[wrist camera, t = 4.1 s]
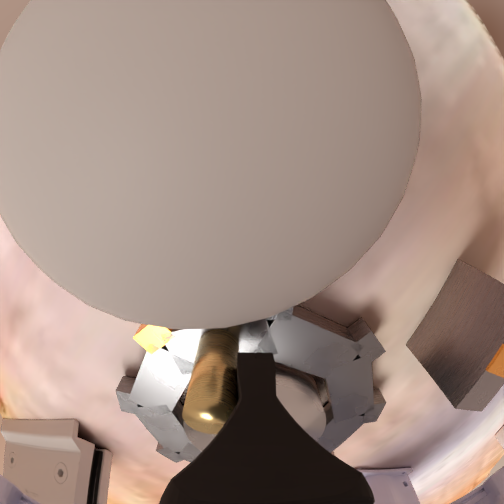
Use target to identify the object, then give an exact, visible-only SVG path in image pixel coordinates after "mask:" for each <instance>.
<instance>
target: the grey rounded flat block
mask: <svg viewBox="0 0 504 504" xmlns="http://www.w3.org/2000/svg"><path fill="white" fill-rule="evenodd" d="M78 427H79V422H78V421H77V420H76V419H64V420H20V419H3V420H2V425H1V433H2V435H3V437H4V438H5V440H6V445H5V455H4V472H3V477H5V478H6V479H8V480H9V481H10V482H12V483H13V484H14V485H15V486H16V487H18V488H19V489H20V490H21V491H22V493H24V494H25V495H27V496H29V497H30V498H32V499H34V500H36V501H38V502H39V503H41V504H107V496H108V486H109V478H110V470H111V463H112V456H113V454H112V453H111V452H110V451H108V450H106V449H96V448H94V447H95V444H93V443H90V442H88V441H86V440H83V439H81V438H79V437H77V435H78Z"/></svg>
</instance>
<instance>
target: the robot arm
mask: <svg viewBox="0 0 504 504" xmlns="http://www.w3.org/2000/svg"><path fill="white" fill-rule="evenodd" d="M237 393H238V403H237V405H236V406H235V408H234V410H233V412H232V413H231V415H230V416H229V418H228V420H227V421H226V423H225V424H224V425H223V427H222V428H221V430H220V431H219V432H218V434H217V435H216V436H215V437H214V439H213V440H212V441H211V442H210V443H209V445H208V446H207V447H206V448H205V449H204V450H203V451H202V452H201V453H200V454H199V455H198V456H197V457H196V458H195V459H194V460H193V461H192V462H191V463H190V464H189V465H188V466H186V467H185V468H184V469H183V470H182V471H181V472H179V473H178V474H177V475H176V476H174V477H173V478H172V479H171V481H170V482H169V484H168V486H167V487H166V489H165V491H164V493H163V495H162V497H161V500H160V503H159V504H420V502H419V499H418V497H417V495H416V492H415V490H414V488H413V485H412V483H411V481H410V479H409V476H408V474H410V473H411V472H412V471H413V469H412V468H401V469H382V470H356V469H354V468H353V467H351V466H349V465H348V464H346V463H345V462H343V461H341V460H340V459H338V458H337V457H336V456H334V455H333V454H332V453H330V452H329V451H327V450H326V449H325V448H324V447H323V446H321V445H320V444H319V443H318V442H317V441H316V440H314V439H313V438H312V437H311V436H310V435H309V434H308V433H307V432H306V431H305V430H304V429H303V428H302V427H301V426H300V425H299V424H298V423H297V422H296V421H295V420H294V418H293V417H292V416H291V415H290V414H289V413H288V411H287V410H286V409H285V407H284V406H283V405H282V403H281V402H280V400H279V399H278V398H277V396H276V368H275V360H274V356H273V353H244V352H238V354H237ZM0 504H41V503H39V502H38V501H36V500H34V499H32V498H30V497H29V496H27V495H25V494H24V493H22V491H21V490H20V489H19V488H18V487H16V486H15V485H14V484H13V483H12V482H10V481H9V480H8V479H6V478H5V477H3V476H2V475H0ZM451 504H504V466H503V467H502V468H501V469H499V470H498V471H496V472H495V473H494V474H493V475H492V476H490V477H489V478H488V479H487V480H486V481H485V482H484V483H483V485H481V486H480V487H478V488H476V489H475V490H473V491H472V492H470V493H468V494H467V495H465V496H463V497H461V498H460V499H458V500H456V501H454V502H452V503H451Z"/></svg>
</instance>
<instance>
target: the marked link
mask: <svg viewBox="0 0 504 504" xmlns="http://www.w3.org/2000/svg"><path fill="white" fill-rule="evenodd" d="M406 346H407V347H408V348H409V350H410V351H411V352H412V353H413V354H414V356H415V357H416V358H417V359H418V361H419V362H420V363H421V364H422V366H423V367H424V368H425V370H426V371H427V372H428V373H429V375H430V376H431V377H432V378H433V380H434V381H435V382H436V384H437V385H438V386H439V388H440V389H441V390H442V392H443V393H444V394H445V396H446V397H447V398H448V400H449V401H450V402H451V404H452V405H453V406H454V408H456V409H464V410H473V411H482V410H483V409H484V408H485V407H486V406H487V404H488V403H489V402H490V401H491V399H492V398H493V397H494V396H495V394H496V393H497V392H498V391H499V389H500V388H501V387H502V385H503V384H504V284H503V283H501V282H499V281H498V280H496V279H494V278H492V277H491V276H489V275H487V274H485V273H483V272H482V271H480V270H478V269H476V268H474V267H472V266H470V265H468V264H467V263H465V262H463V261H461V260H459V259H457V261H456V263H455V265H454V267H453V269H452V271H451V273H450V275H449V276H448V278H447V280H446V282H445V284H444V286H443V287H442V289H441V291H440V293H439V294H438V296H437V298H436V299H435V301H434V303H433V304H432V306H431V308H430V309H429V311H428V312H427V314H426V315H425V317H424V319H423V320H422V322H421V323H420V325H419V326H418V328H417V329H416V331H415V332H414V334H413V335H412V336H411V338H410V339H409V341H408V342H407V344H406Z"/></svg>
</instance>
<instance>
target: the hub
mask: <svg viewBox="0 0 504 504" xmlns="http://www.w3.org/2000/svg"><path fill="white" fill-rule="evenodd" d="M275 368H276V396H277V398H278V399H279V400H280V402H281V403H282V405H283V406H284V407H285V409H286V410H287V411H288V413H289V414H290V415H291V416H292V417H293V418H294V420H295V421H296V422H297V423H298V424H299V425H300V426H301V427H302V428H303V429H304V430H305V431H306V432H307V433H308V434H309V435H310V436H311V437H312V438H313V439H314V440H316V441H318V440H319V438H320V437H321V436H322V434H323V432H324V430H325V426H326V415H325V412H324V408H323V405H322V402H321V399H320V395H319V392H318V389H317V386H316V383H315V380H314V378H313V376H312V375H311V374H309V373H306V372H303V371H301V370H298V369H295V368H292V367H289V366H286V365H284V364H281V363H278V362H276V361H275ZM184 430H185V434H186V436H187V438H188V439H189V440H190V442H191V443H192V444H193V445H194V446H195V447H196V448H197V449H199V450H200V451H201V452H202V451H203V450H204V449H205V448H206V447H207V446H208V445H209V443H210V442H211V441H212V440H213V439H214V437H215V436H216V435H217V434H206V433H202V432H199V431H196V430H194V429H192V428H191V427H189V426H188V425H187V424H186V423H185V421H184Z"/></svg>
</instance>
